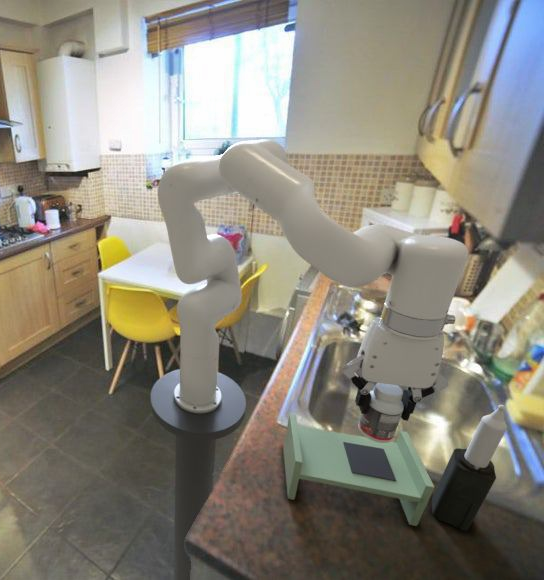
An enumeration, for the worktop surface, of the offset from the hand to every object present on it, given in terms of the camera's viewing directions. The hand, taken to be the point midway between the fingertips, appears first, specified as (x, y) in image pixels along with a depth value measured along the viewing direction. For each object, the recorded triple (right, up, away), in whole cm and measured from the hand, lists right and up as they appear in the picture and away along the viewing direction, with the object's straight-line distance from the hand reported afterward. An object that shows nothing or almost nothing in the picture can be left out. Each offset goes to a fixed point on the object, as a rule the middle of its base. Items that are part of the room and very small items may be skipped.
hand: (381, 410), depth 62 cm
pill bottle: (0, -5, +2) cm, 5 cm away
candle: (+14, -20, +3) cm, 24 cm away
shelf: (-2, -17, +9) cm, 20 cm away
